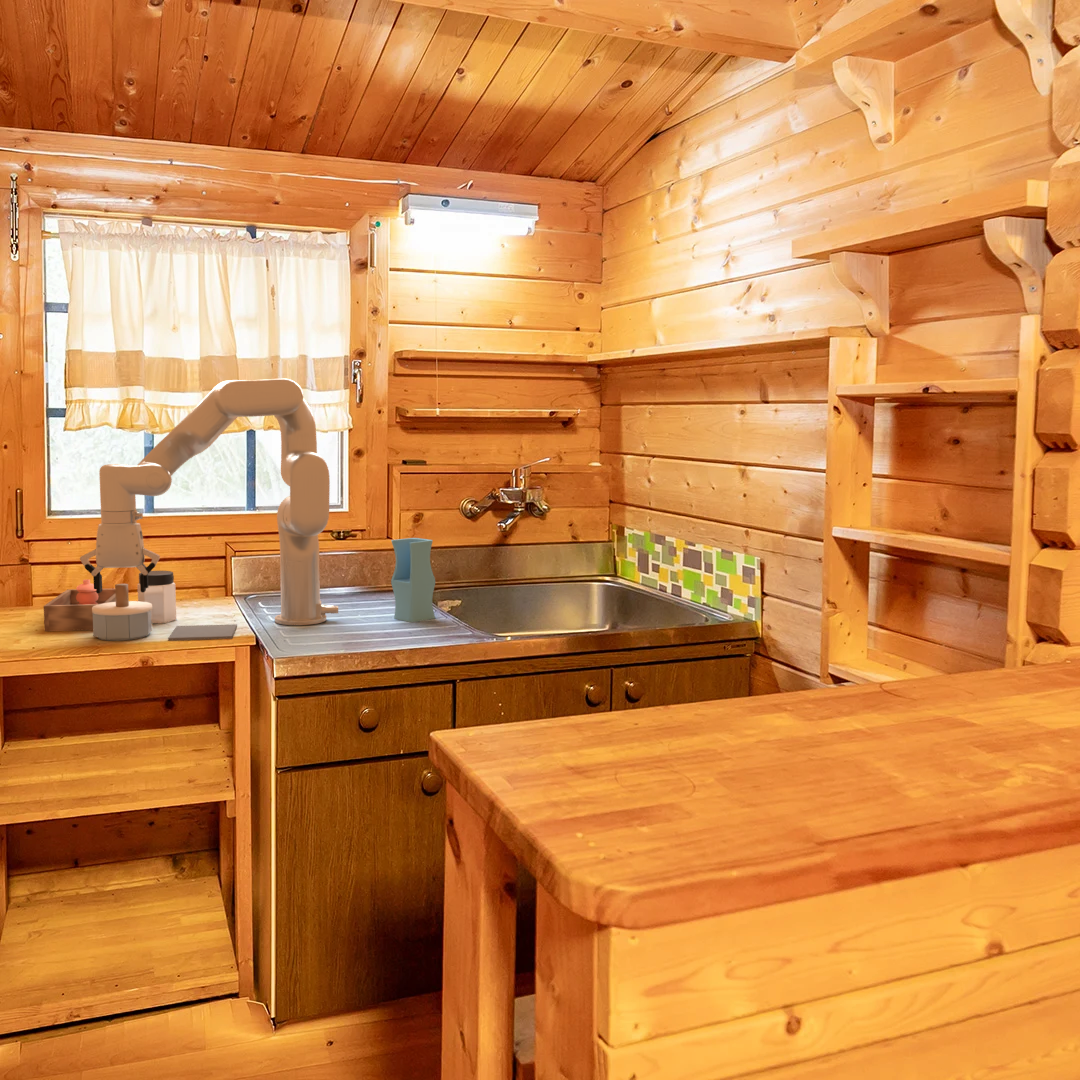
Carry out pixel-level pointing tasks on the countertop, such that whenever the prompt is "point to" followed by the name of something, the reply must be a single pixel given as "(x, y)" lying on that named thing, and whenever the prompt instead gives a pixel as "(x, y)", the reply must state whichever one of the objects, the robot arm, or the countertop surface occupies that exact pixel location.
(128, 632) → the bowl
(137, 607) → the lid
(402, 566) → the vase
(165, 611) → the jar
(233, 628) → the mat
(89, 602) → the pottery
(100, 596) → the tray
